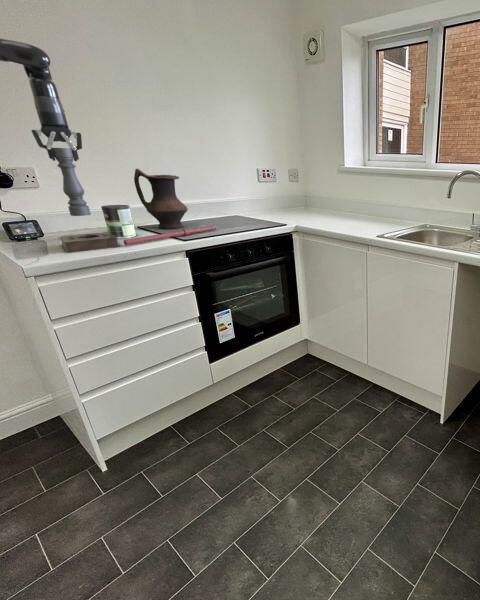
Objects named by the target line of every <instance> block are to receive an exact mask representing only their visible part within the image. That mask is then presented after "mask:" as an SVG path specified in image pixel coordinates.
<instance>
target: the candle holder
mask: <svg viewBox="0 0 480 600" xmlns="http://www.w3.org/2000/svg"><path fill="white" fill-rule="evenodd" d="M51 149H52V150H53V153H54V157H55V160H56V161H57V162H58V164H56V167H58V168H59V169H60V171H61V174H62V190H63V193H64V194H65V195H66V196H67V197H68V199H69V200H68V202H67V205H68V206H67V208H68V211H69V214H70V216H71V217H84V216H85V217H86V216H91V211H90V207H89V205H87V204H88V202H87V201H86V200H84V195H85V189H84V188H83V186H82V184H81V183H80V181H79V179H78V177H77V174H76V172H75V169H76V165H75V163H73V162H74V158H73V157H74V156H73V152H72V149H71V148H70V147H51Z"/></svg>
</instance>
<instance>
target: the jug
mask: <svg viewBox="0 0 480 600" xmlns="http://www.w3.org/2000/svg"><path fill="white" fill-rule="evenodd" d="M140 177H142V178H145V179H146V180H147V181H148V182H149V184H150V186H151V192H152V198H151V200H150V201H149V202H148V201H146V200H145V196H144V193H143V190H142V188H141V185H140ZM179 179H180V177H179V176H177V175H172V174H146V173H145V172H144V171H142V170H141V169H140V168H135V169H134V176H133V182H134V187H135V189H136V193H137V195H138V197H139V200H140V202H141V204H142V205H143V207H144V208H145V209H146V211H147V213H149V214H150V215H151V216H152V217H153V218H154V219H156V220H157V222H158V223H159V224H158V228H159V229H163V230H176V229H180V228H183V223H182V222H181V221H182V219H183V217H184V216H185V214H186V213H187V212H188V207H187V205H185V204H184V203H183V201H181V200H180V199H179V198H178V197H177V193H176V183H175V182H176V181H175V180H179Z"/></svg>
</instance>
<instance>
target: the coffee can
mask: <svg viewBox="0 0 480 600" xmlns="http://www.w3.org/2000/svg"><path fill="white" fill-rule="evenodd" d="M100 208H101V210H102V214H103V217H104V221H105V222H104V223H105V225H106V229H107V232H109V233H111V234H112V235H114V236H115V237H116V238H117V240H119V239H132V238H136V236H137V233H136V229H135V226H134V221H133V217H132V212H131V209H130V205H128V204H107V205H101V206H100Z"/></svg>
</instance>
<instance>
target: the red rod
mask: <svg viewBox="0 0 480 600" xmlns="http://www.w3.org/2000/svg"><path fill="white" fill-rule="evenodd" d="M216 229H217V226H216V225H207V226H202V227H201V226H200V227H196V228H190V229H189V228H183V229H181V230H176V231H170V232H165V233H159V234H158V233H157V234H152V235H146V236H140V237H132V238H126V239H124V240H123V241H122V243H123V245H125V246H129V245H130V246H131V245H136V244H141V243H146V242H152V241H158V240H164V239H169V238H175V237H181V236H184V237H186V236H190V235H192V234H198V233H203V232H210V231H215V230H216Z"/></svg>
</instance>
